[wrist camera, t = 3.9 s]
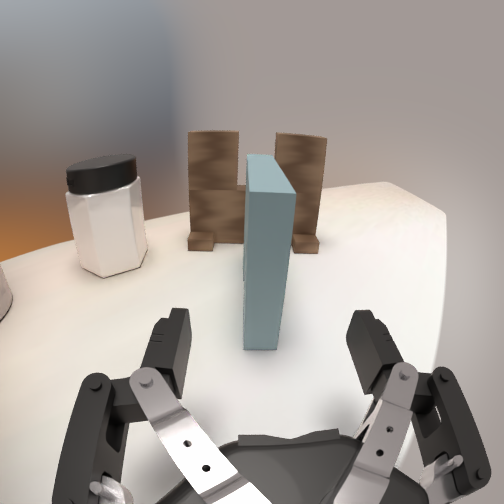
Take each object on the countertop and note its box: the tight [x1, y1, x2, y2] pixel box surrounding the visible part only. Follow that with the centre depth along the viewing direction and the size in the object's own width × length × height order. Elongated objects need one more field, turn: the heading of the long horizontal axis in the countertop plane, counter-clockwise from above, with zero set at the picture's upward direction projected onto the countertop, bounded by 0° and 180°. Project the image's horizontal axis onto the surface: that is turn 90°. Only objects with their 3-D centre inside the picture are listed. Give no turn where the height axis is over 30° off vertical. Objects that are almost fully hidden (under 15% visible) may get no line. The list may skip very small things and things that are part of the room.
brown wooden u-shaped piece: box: [188, 131, 327, 254], centre depth 33 cm, size 16×7×14 cm, turn 91°
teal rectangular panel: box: [243, 154, 296, 350], centre depth 23 cm, size 14×2×12 cm, turn 1°
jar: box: [66, 154, 148, 278], centre depth 28 cm, size 9×8×12 cm
